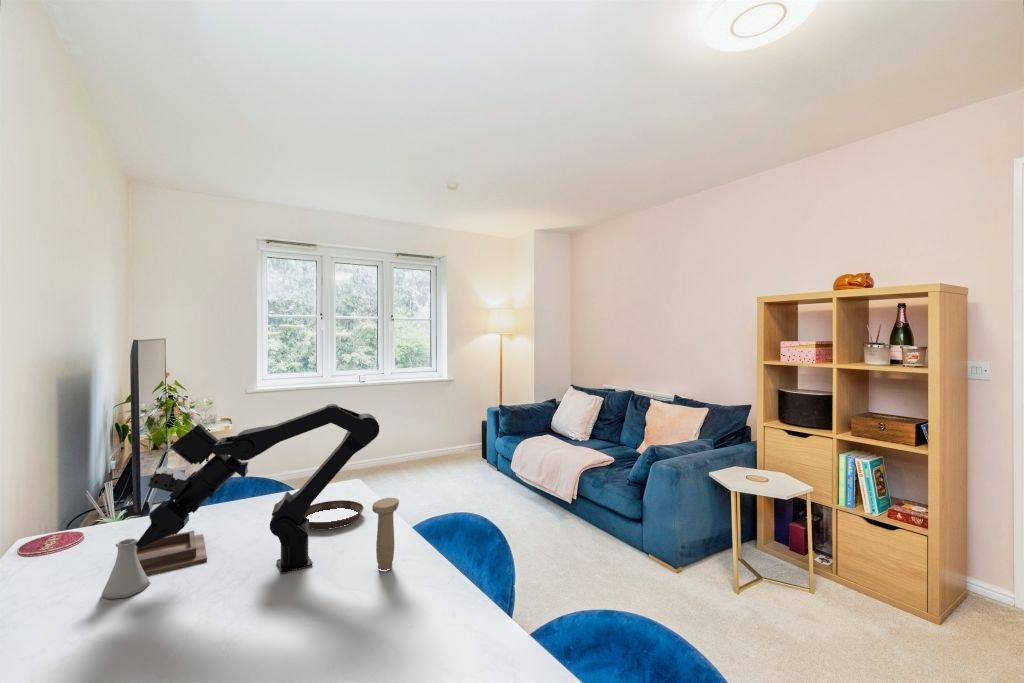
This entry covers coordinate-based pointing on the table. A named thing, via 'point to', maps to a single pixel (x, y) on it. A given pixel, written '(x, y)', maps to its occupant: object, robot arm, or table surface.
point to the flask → (126, 572)
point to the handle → (385, 531)
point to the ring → (334, 505)
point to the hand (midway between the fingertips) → (146, 536)
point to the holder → (172, 552)
